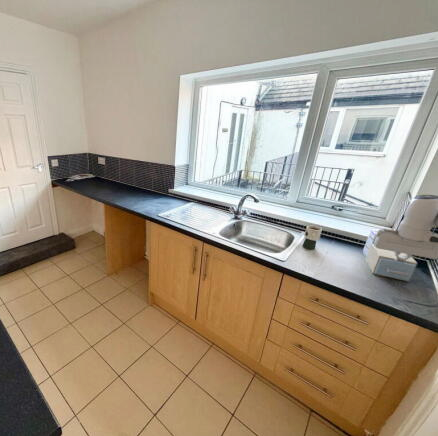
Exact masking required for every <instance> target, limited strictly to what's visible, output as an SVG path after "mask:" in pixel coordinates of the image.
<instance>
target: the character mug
mask: <svg viewBox="0 0 438 436" xmlns="http://www.w3.org/2000/svg"><path fill="white" fill-rule="evenodd" d="M322 231H323V228H322V227H320V226H317V225H312V224H310V225H307V226H306V228H305V231H304V236H303V237H304V238H305V239H304V240H303V242H302V248H303V249H305V250H310V251H314V250H316V248H317V247H316V246H317V241H319V240H320V239H321V235H322Z"/></svg>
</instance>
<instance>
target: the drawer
mask: <svg viewBox="0 0 438 436" xmlns="http://www.w3.org/2000/svg"><path fill="white" fill-rule="evenodd" d="M414 268H415V269H416V267H415V265H414V264H411V263H406V262H405V263H402V262H397V261H395V260H391V259H386V258H380V260H379V263H378V265H377V268H376V270H375V273H376V274H375V275H377V274H380V275H379V276H381V275H385V276H384V277H386V276H389V277H388V278H390V277H394V278H393V279H395V278H398V279H397V280H399V279H402V280H401V281H404V280H407V281H406V282H408V281H409V282H410V280H409V279H411V278H412V276H411V275H413V273H414V271H415V269H414ZM413 270H414V271H413ZM410 277H411V278H410Z"/></svg>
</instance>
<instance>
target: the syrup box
mask: <svg viewBox="0 0 438 436" xmlns="http://www.w3.org/2000/svg"><path fill="white" fill-rule="evenodd" d="M378 231H379V230H377V229H370V230H369V233H368V236H367V239H366V241H365V244H364V246H363V249H362V253H363V255H364V256H365V258H366V257H367V254H368V252H369V249H370V246H371V244H374V241H375V239H376V237H377V233H378Z"/></svg>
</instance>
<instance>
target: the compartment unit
mask: <svg viewBox="0 0 438 436" xmlns="http://www.w3.org/2000/svg"><path fill="white" fill-rule="evenodd" d="M398 256H399V257H402V258H403V257H404V256H406V254H405V253H400V255H398ZM395 257H396V256H395V254H394V251H389V250H384V249H378V248H376V247H375V246H374V244H371V246H370V249H369V252H368V254H367V257H366V256H365V261H366V264H367V265H368V268H369V271H370V273H372V274H373V275H377V276H382V277H386V278H391V279H395V280H400V281H403V282H408V283H409V282H410V279H412V275H413V274H412V275H411V277H410V279H409V281H407V280H402V279H398V278H394V277H389V276H385V275H380V274H376V273H375V270H376V268H377V265H378V263H379V260H380V258H386V259H391V260H395ZM405 262H406V263H411V264H414V265H415V268H414V270H413V272H414V271H415V269H416V267H417V265H418V262H417V261H416V260H415V259H414V257H413V256H412V257H411V258H409V259H407V260H406V261H405Z"/></svg>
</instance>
